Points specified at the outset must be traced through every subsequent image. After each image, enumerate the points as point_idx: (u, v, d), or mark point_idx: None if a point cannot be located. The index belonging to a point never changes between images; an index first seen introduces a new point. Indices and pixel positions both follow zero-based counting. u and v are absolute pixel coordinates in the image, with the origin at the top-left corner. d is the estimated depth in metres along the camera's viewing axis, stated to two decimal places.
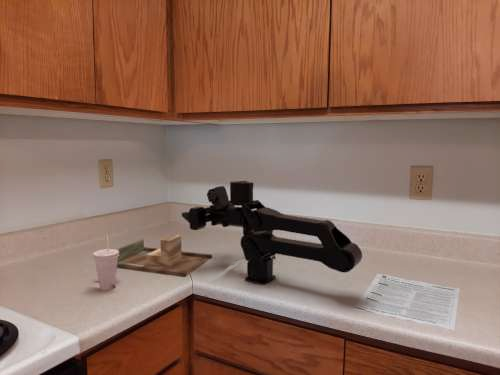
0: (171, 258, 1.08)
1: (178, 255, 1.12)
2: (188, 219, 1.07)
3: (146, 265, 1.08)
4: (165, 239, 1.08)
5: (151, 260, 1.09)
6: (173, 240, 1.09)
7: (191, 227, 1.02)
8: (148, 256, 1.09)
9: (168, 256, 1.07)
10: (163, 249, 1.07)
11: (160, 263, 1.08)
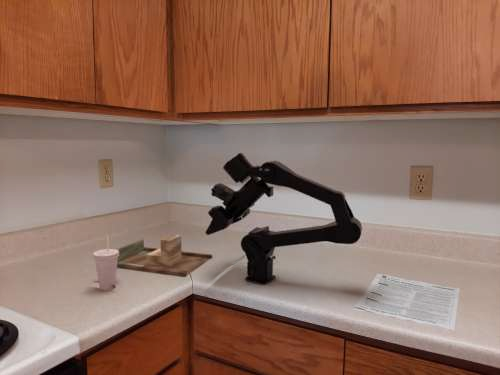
0: (171, 258, 1.08)
1: (178, 255, 1.12)
2: (215, 229, 1.00)
3: (146, 265, 1.08)
4: (165, 239, 1.08)
5: (151, 260, 1.09)
6: (173, 240, 1.09)
7: (222, 226, 0.94)
8: (148, 256, 1.09)
9: (168, 256, 1.07)
10: (163, 249, 1.07)
11: (160, 263, 1.08)
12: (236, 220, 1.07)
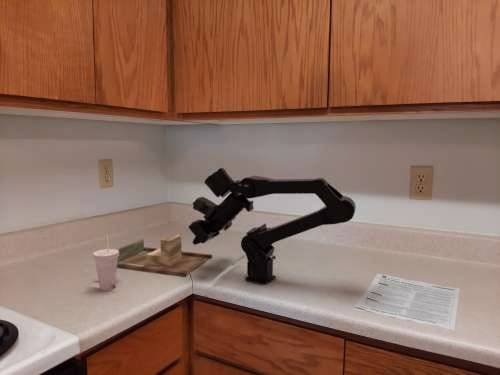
0: (171, 258, 1.08)
1: (178, 255, 1.12)
2: None
3: (146, 265, 1.08)
4: (165, 239, 1.08)
5: (151, 260, 1.09)
6: (173, 240, 1.09)
7: (201, 240, 0.96)
8: (148, 256, 1.09)
9: (168, 256, 1.07)
10: (163, 249, 1.07)
11: (160, 263, 1.08)
12: (213, 235, 1.06)
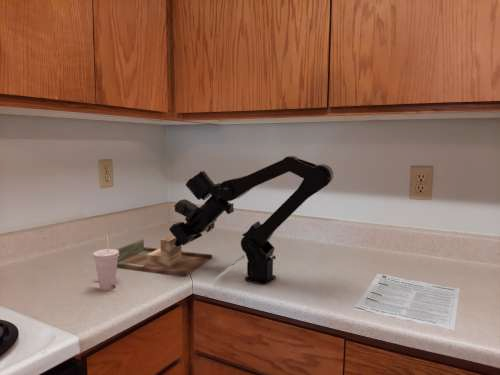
0: (171, 258, 1.08)
1: (178, 255, 1.12)
2: None
3: (146, 265, 1.08)
4: (165, 239, 1.08)
5: (151, 260, 1.09)
6: (173, 240, 1.09)
7: (182, 242, 0.98)
8: (148, 256, 1.09)
9: (168, 256, 1.07)
10: (163, 249, 1.07)
11: (160, 263, 1.08)
12: (195, 237, 1.08)
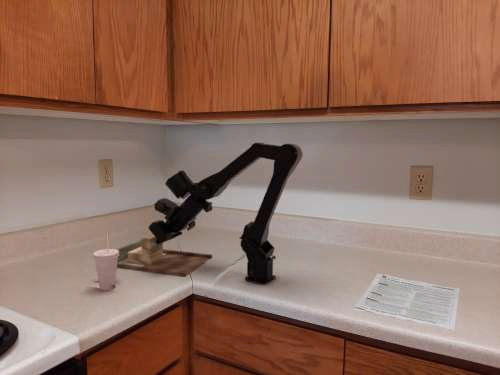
0: (151, 256, 1.10)
1: (159, 253, 1.14)
2: None
3: (146, 265, 1.08)
4: (146, 237, 1.10)
5: (132, 257, 1.11)
6: (154, 238, 1.11)
7: (160, 240, 1.01)
8: (129, 254, 1.12)
9: (148, 254, 1.09)
10: (144, 247, 1.10)
11: (141, 261, 1.10)
12: (175, 235, 1.10)
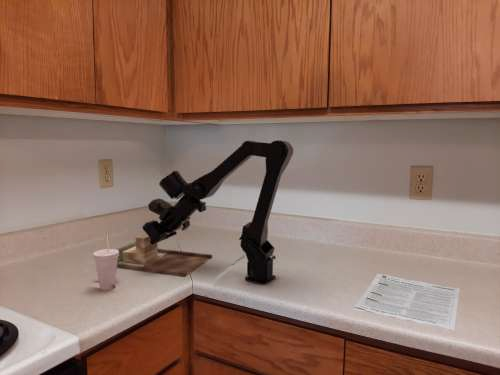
0: (146, 255, 1.11)
1: (154, 252, 1.15)
2: None
3: (146, 265, 1.08)
4: (140, 236, 1.11)
5: (127, 257, 1.12)
6: (148, 237, 1.11)
7: (154, 240, 1.01)
8: (124, 253, 1.12)
9: (143, 253, 1.10)
10: (138, 246, 1.10)
11: (135, 260, 1.11)
12: (170, 235, 1.11)
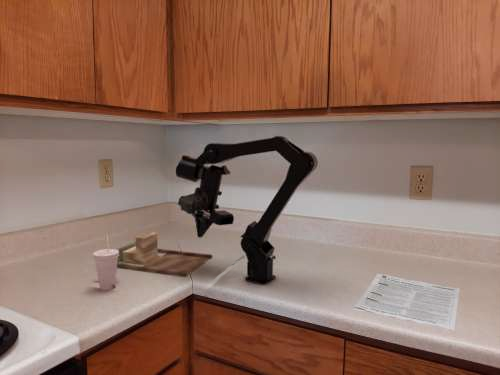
0: (146, 255, 1.11)
1: (154, 252, 1.15)
2: (207, 226, 1.06)
3: (146, 265, 1.08)
4: (140, 236, 1.11)
5: (127, 257, 1.12)
6: (148, 237, 1.11)
7: (232, 222, 1.01)
8: (124, 253, 1.12)
9: (143, 253, 1.10)
10: (138, 246, 1.10)
11: (135, 260, 1.11)
12: None
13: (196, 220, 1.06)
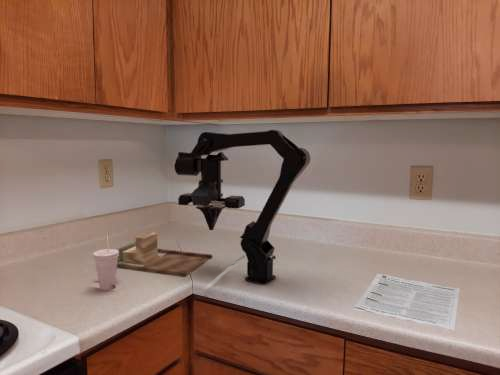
0: (146, 255, 1.11)
1: (154, 252, 1.15)
2: (217, 217, 1.06)
3: (146, 265, 1.08)
4: (140, 236, 1.11)
5: (127, 257, 1.12)
6: (148, 237, 1.11)
7: (244, 203, 1.04)
8: (124, 253, 1.12)
9: (143, 253, 1.10)
10: (138, 246, 1.10)
11: (135, 260, 1.11)
12: (212, 206, 1.07)
13: (205, 213, 1.04)
